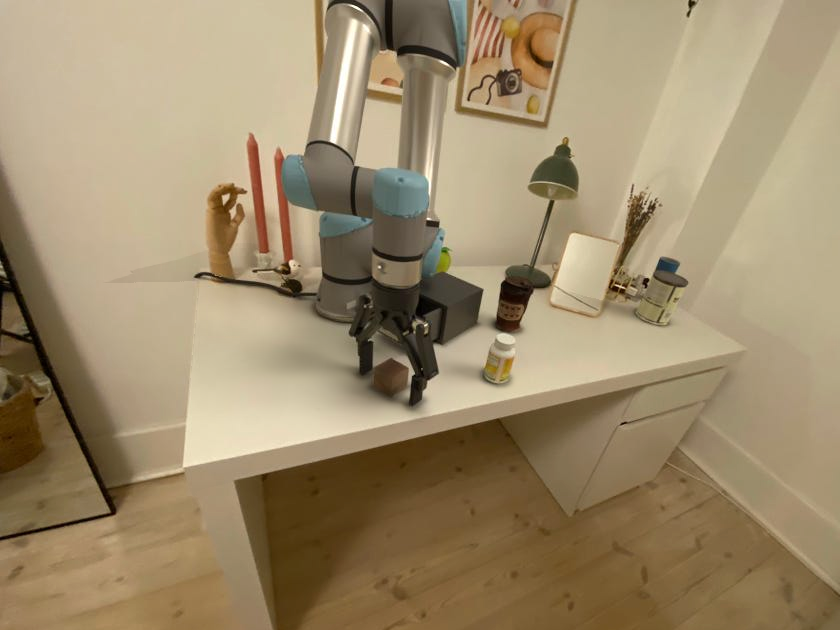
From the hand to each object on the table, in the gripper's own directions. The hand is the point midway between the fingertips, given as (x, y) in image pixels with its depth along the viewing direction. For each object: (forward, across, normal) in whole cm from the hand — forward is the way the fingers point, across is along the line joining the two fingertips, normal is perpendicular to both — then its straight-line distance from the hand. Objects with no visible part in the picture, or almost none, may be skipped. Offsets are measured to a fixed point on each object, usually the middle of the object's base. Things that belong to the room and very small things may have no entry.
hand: (390, 386), depth 71 cm
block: (0, 0, 0) cm, 0 cm away
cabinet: (0, -9, +27) cm, 28 cm away
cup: (0, +31, +100) cm, 104 cm away
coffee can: (0, +34, +84) cm, 90 cm away
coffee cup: (0, +4, +39) cm, 40 cm away
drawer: (-1, -9, +16) cm, 18 cm away
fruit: (0, -28, +49) cm, 57 cm away
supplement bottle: (0, +13, +18) cm, 22 cm away
